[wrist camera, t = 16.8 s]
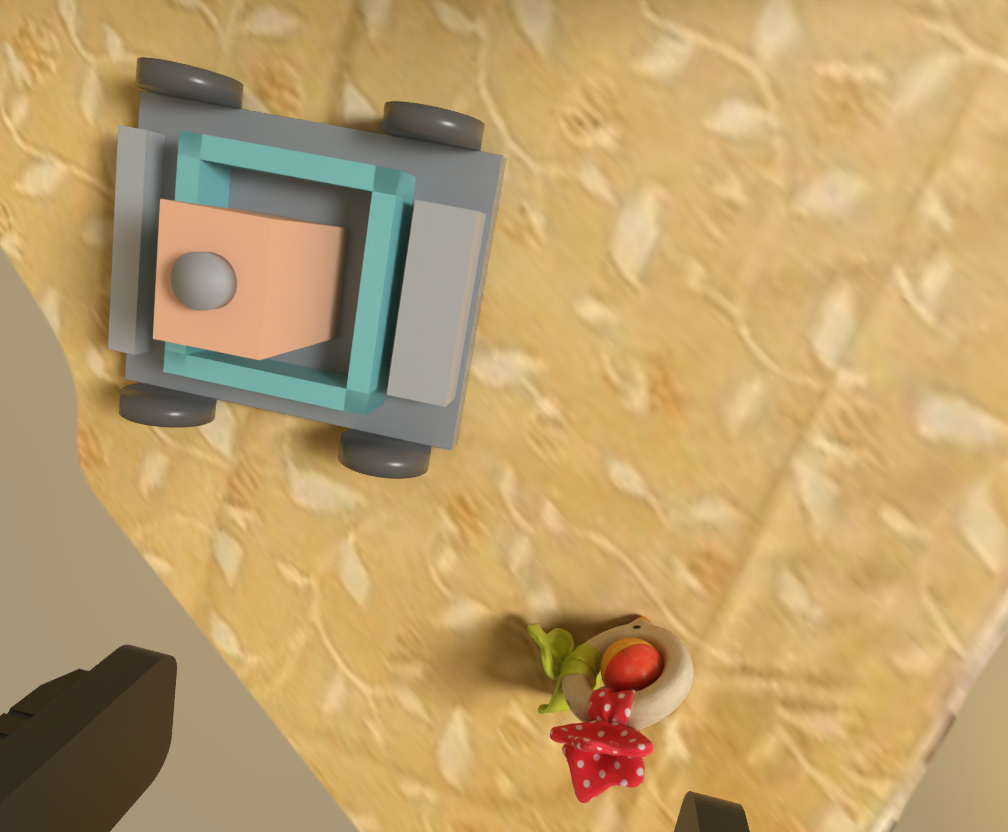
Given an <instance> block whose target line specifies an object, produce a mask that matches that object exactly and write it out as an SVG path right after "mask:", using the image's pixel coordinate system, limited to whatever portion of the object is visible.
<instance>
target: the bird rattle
mask: <svg viewBox="0 0 1008 832" xmlns="http://www.w3.org/2000/svg"><path fill="white" fill-rule="evenodd" d="M527 630H528V633H529V634H530V636H531V637H532V638H533V639H534V641H535V642H536V643H537V644H538V646H539V647H540V649H541V660H542V666H543V669H544V672H545V673H546V675H547V676H548V677H549V678H550V679H551V680H556V681H557V685H556V687H555V690H554V693H553V696H552V698H551V700H550V703H549V704H543V705H540V706H539V708H538V712H539V713H540V714H544V713H551V712H563V711H567V710H570V709H571V711H572V712H573V714H574V715H575V716H576V717H577V718H578V719H579V720H581V721H582V722H583V723H576V724H568V725H563V726H557V727H553V728H552V729H551V732H550V738H551V739H552V740H553V741H555V742H558V743H562V744H564V746H563V748H562V752H563V754H564V755H565V756H566V758H567V761H568V764H569V768H570V772H571V777H572V783H573V787H574V791H575V794H576V796H577V798H578V800H579V801H580V802H582V803H587V802H588V801H590V800H591V799H593V798H595V797H596V796H598V795H599V794H601V793H602V792H604V791H605V790H606V789H608V788H609V787H611V786H614V785H620V786H624V787H631V788H632V787H636V786H638V785H639V784H641V783H642V782H643V780H644V762H643V759H642V757H645V756H647V755H649V754H651V753H652V751H653V744H652V742H651V741H650V740H649V739H647V738H646V737H645V736H644V735H642V734H641V733H640V729H642V728H645V727H648V726H650V725H652V724H654V723H656V722H658V721H660V720H662V719H663V718H665V717H666V716H668V715H669V714H670V713H671V712H673V711H674V710H675V709H676V708H677V707H678V706H679V705H680V704H681V702H682V701H683V700H684V699H685V697H686V696H687V694H688V692H689V690H690V688H691V686H692V682H693V674H694V672H693V663H692V660H691V656H690V654H689V651H688V649H687V647H686V646H685V644H684V643H683V642H682V641H681V640H680V639H679V638H678V637H677V636H676V635H674V634H673V633H672V632H670V631H668V630H666V629H664V628H661V627H658V626H655V625H652V624H651V622H650V621H649V620H648V619H647V618H646V617H643V616H642V617H639V618H637V619H635V620H634V621H632V622H631V623H629V624H626V625H621V626H618V627H614V628H611V629H609V630H606V631H604V632H602V633H600V634H598V635H596V636H594V637H593V638H591V639H589V640H588V641H586V642H585V643H584V644H581V645H579V646H577V647H576V649H575V651H574V648H575V647H574V640H573V637H572V635H571V634H570V633H569V632H568V631H567V630H564V629H562V628H555V629H553V630H552V631H550V632H549V633H548V634H546V633H545V632H544V631H543V629H542V628H541V627H540V625H539V624H538V623H535V624H531V625H528V626H527ZM600 670H601V673H600ZM601 676H602V680H603V683H604V685H605V686H603V687H600V683H601ZM605 688H606V689H605Z"/></svg>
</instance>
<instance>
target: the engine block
mask: <svg viewBox="0 0 1008 832" xmlns="http://www.w3.org/2000/svg"><path fill="white" fill-rule="evenodd" d="M348 232H349V228H345V227H339V226H334V225H328V224H322V223H317V222H311V221H306V220H300V219H295V218H289V217H284V216H278V215H273V214H267V213H261V212H254V211H247V210H239V209H232V208H225V207H217V206H210V205H202V204H195V203H188V202H180V201H173V200H166V199H160V211H159V231H158V250H157V269H156V288H155V307H154V326H153V339H157V340H162V341H167V342H172V343H177V344H181V345H186V346H191V347H196V348H201V349H206V350H211V351H216V352H221V353H226V354H231V355H236V356H241V357H246V358H251V359H256V360H262V359H266V358H269V357H272V356H276V355H279V354H283V353H286V352H289V351H293V350H296V349H300V348H303V347H307V346H310V345H313V344H317V343H320V342H324V341H327V340H331V339H334V338H336V335H337V327H338V318H339V309H340V301H341V292H342V283H343V275H344V266H345V257H346V249H347V240H348Z"/></svg>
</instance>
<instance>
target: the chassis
mask: <svg viewBox="0 0 1008 832" xmlns="http://www.w3.org/2000/svg"><path fill="white" fill-rule="evenodd" d="M136 86H138V87H140V88H142V89H145V90H147V91H150V92H153V93H156V94H153V93H148V92H142V91H140V102H139V121H138V128H133V127H127V126H122V125H118V142H117V164H116V186H115V207H114V229H113V250H112V272H111V294H110V315H109V337H108V349H109V350H114V351H119V352H123V353H126V367H125V379H128V380H133V381H137V382H142V383H139V384H132V385H128V386H125V387H123V388H122V389H121V390H120V403H119V414H120V415H121V416H122V417H123V418H125V419H127V420H129V421H132V422H135V423H139V424H144V425H150V426H158V427H193V426H200V425H204V424H207V423H210V422H212V421H213V420H214V419H215V411H216V399H219V400H224V401H228V402H233V403H237V404H242V405H247V406H251V407H256V408H260V409H265V410H269V411H274V412H278V413H283V414H288V415H292V416H297V417H301V418H306V419H310V420H315V421H320V422H324V423H329V424H333V425H338V426H342V427H347V428H351V430H348V431H346V432H344V433H343V434H342V435H341V441H340V448H339V456H338V459H339V461H340V462H341V463H342V464H343V465H344V466H345V467H347V468H349V469H351V470H354V471H356V472H359V473H362V474H366V475H370V476H375V477H382V478H394V479H402V478H412V477H417V476H420V475H423V474H424V473H426V472H427V470H428V465H429V459H430V453H431V446H434V447H438V448H443V449H447V450H452V449H453V448H454V446H455V445H456V444H457V440H458V434H459V428H460V422H461V416H462V411H463V405H464V399H465V393H466V388H467V382H468V376H469V370H470V365H471V359H472V353H473V347H474V341H475V336H476V330H477V324H478V318H479V313H480V307H481V301H482V295H483V290H484V284H485V278H486V272H487V267H488V261H489V255H490V249H491V243H492V238H493V232H494V226H495V220H496V215H497V209H498V203H499V197H500V192H501V186H502V180H503V174H504V169H505V163H506V159H505V158H504V157H503V156H502V155H498V154H492V153H487V152H481V151H480V149H481V143H482V137H483V131H484V123H483V122H481V121H479V120H477V119H475V118H473V117H470V116H467V115H464V114H461V113H458V112H454V111H451V110H447V109H443V108H438V107H433V106H428V105H423V104H417V103H410V102H398V101H391V102H386V103H385V106H384V113H383V121H382V129H381V130H382V131H383V132H385V133H387V134H389V135H385V134H379V133H374V132H368V131H362V130H357V129H351V128H345V127H340V126H334V125H329V124H323V123H317V122H312V121H306V120H300V119H295V118H289V117H283V116H278V115H272V114H266V113H261V112H255V111H249V110H244V109H241V107H242V95H243V84H242V83H240V82H238V81H236V80H234V79H232V78H229V77H227V76H224V75H221V74H218V73H215V72H211V71H208V70H205V69H201V68H197V67H193V66H190V65H185V64H181V63H177V62H172V61H167V60H161V59H154V58H143V57H142V58H137V71H136ZM159 94H160V95H159ZM391 135H392V136H391ZM160 199H166V200H173V201H180V202H188V203H195V204H202V205H210V206H217V207H225V208H232V209H239V210H247V211H254V212H261V213H267V214H273V215H278V216H284V217H289V218H295V219H300V220H306V221H311V222H317V223H322V224H328V225H334V226H339V227H345V228H349V232H348V240H347V249H346V257H345V266H344V275H343V283H342V292H341V301H340V309H339V318H338V327H337V335H336V338H334V339H331V340H327V341H324V342H320V343H317V344H313V345H310V346H307V347H303V348H300V349H296V350H293V351H289V352H286V353H283V354H279V355H276V356H272V357H269V358H266V359H262V360H256V359H251V358H246V357H241V356H236V355H231V354H226V353H221V352H216V351H211V350H206V349H201V348H196V347H191V346H186V345H181V344H177V343H172V342H167V341H162V340H157V339H153V326H154V307H155V288H156V269H157V250H158V231H159V211H160Z"/></svg>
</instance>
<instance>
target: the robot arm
mask: <svg viewBox="0 0 1008 832" xmlns="http://www.w3.org/2000/svg"><path fill="white" fill-rule="evenodd" d="M176 674H177V663H176V660H175V658H174V657H173V656H170V655H167V654H163V653H159V652H155V651H151V650H147V649H143V648H140V647H136V646H132V645H123V646H121V647H119V648H118V649H116V650H115V651H114V652H113V653H111V654H110V655H109V656H108V657H106V658H105V659H104V660H103V661H101V662H100V663H99V664H98V665H96V666H95V667H94V668H93V669H91V670H90V671H85V670H82V669H78V670H75V671H73V672H71V673H68V674H66V675H64V676H61V677H59V678H57V679H54V680H52V681H50V682H47V683H45V684H43V685H40V686H39V687H38V688H36V689H35V690H34V691H32V692H31V693H30V694H29V695H27V696H26V697H25V698H23V699H22V700H21V701H19V702H18V703H17V704H15V705H14V706H13V707H11V708H10V710H9V712H8V713H7V714H5V713H3V714H2V715H1V716H0V832H110V831H111V830H112V828H113V827H114V826H115V825H116V824H117V823H118V822H119V820H120V819H121V818H122V817H123V816H124V815H125V813H126V812H127V811H128V810H129V809H130V807H132V805H133V804H134V803H135V802H136V801H137V800H138V798H139V797H140V796H141V795H142V794H143V793H144V792H145V790H146V789H147V788H148V787H149V786H150V785H151V783H152V782H153V781H154V779H155V778H156V776H157V775H158V773H159V771H160V769H161V768H162V766H163V764H164V761H165V759H166V757H167V754H168V751H169V747H170V743H171V737H172V725H173V712H174V700H175V687H176ZM674 832H750V831H749V827H748V823H747V819H746V815H745V812H744V809H743V807H742V806H741V805H740V804H738V803H734V802H730V801H726V800H722V799H718V798H714V797H711V796H707V795H703V794H699V793H695V792H691V791H689V792H687V794H686V795H685V797H684V800H683V803H682V806H681V809H680V813H679V816H678V820H677V823H676V827H675V830H674Z"/></svg>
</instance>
